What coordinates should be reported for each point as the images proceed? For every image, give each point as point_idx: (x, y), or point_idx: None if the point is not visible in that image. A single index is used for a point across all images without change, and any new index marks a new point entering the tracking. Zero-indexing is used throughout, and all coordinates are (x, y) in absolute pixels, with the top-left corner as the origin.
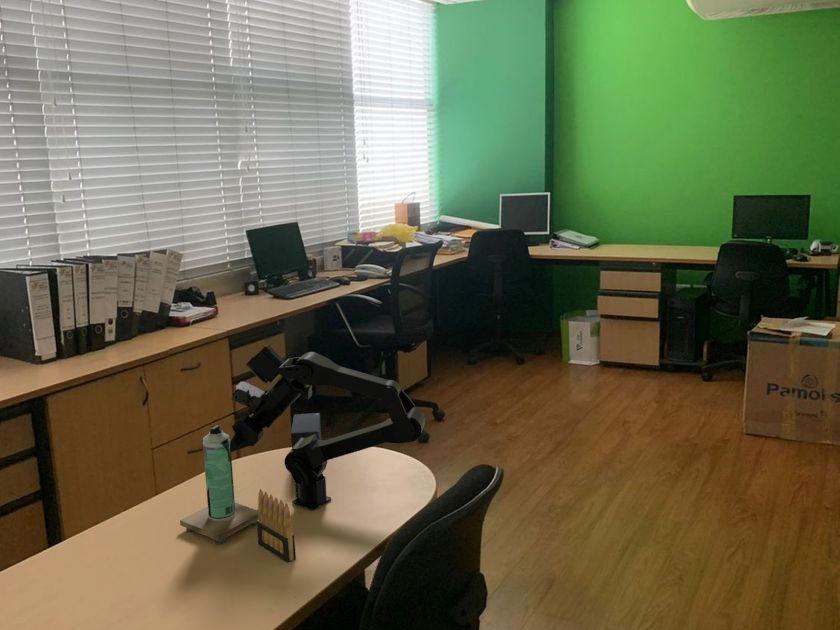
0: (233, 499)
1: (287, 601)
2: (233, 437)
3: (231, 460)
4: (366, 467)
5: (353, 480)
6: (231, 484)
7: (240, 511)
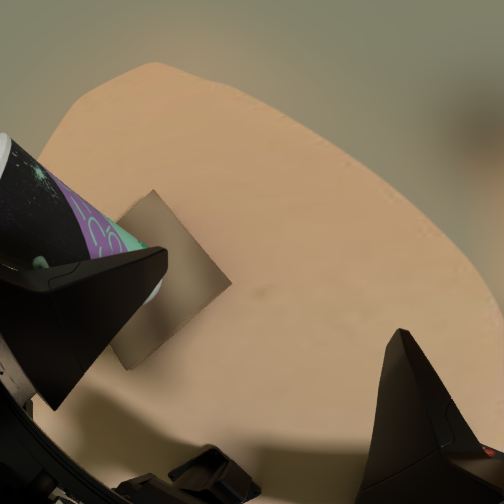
0: None
1: None
2: (53, 270)
3: (19, 270)
4: None
5: None
6: None
7: (143, 319)
